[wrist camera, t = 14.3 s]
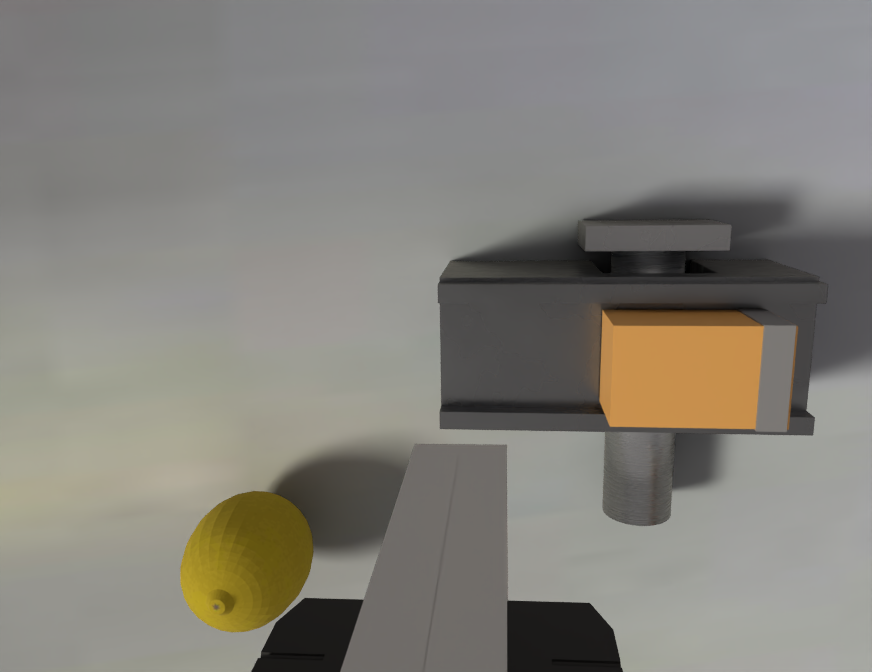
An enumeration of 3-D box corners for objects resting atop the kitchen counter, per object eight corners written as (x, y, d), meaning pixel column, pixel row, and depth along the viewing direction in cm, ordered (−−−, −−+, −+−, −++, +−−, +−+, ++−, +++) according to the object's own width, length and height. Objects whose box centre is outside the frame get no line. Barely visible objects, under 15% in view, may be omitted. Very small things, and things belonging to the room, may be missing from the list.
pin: (578, 220, 33) (586, 226, 29) (708, 219, 32) (731, 224, 29) (571, 494, 36) (577, 527, 32) (690, 496, 35) (710, 530, 32)
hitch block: (450, 261, 34) (437, 280, 28) (768, 259, 32) (828, 280, 26) (451, 386, 35) (440, 432, 29) (757, 390, 34) (812, 439, 28)
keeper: (602, 308, 28) (613, 325, 25) (767, 308, 27) (799, 325, 24) (599, 402, 29) (610, 428, 26) (759, 404, 28) (789, 432, 25)
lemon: (338, 479, 37) (292, 562, 29) (320, 577, 38) (272, 682, 30) (231, 455, 37) (157, 531, 29) (216, 553, 38) (142, 650, 30)
